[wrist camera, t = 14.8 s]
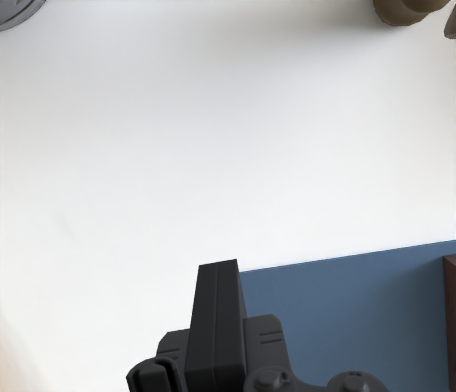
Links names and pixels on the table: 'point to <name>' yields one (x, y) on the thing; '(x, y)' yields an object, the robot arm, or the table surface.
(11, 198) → the table surface
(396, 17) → the kendama
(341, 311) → the runner mat
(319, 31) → the table surface
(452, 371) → the rack
